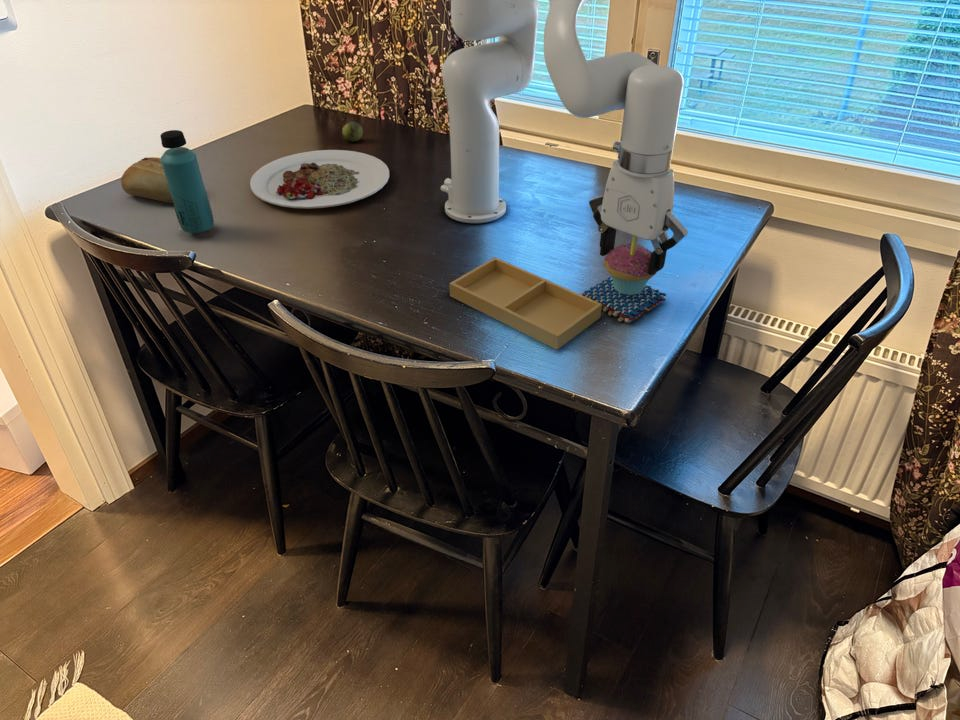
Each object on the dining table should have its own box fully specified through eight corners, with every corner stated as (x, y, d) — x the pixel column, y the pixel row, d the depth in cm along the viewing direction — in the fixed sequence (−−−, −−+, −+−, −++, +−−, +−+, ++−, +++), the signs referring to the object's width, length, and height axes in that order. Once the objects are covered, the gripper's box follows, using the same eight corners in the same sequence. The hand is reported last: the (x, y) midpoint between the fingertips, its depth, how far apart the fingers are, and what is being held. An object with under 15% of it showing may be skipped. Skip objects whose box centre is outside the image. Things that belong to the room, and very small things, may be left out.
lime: (340, 142, 177) (338, 122, 174) (355, 136, 180) (353, 117, 177) (352, 146, 175) (350, 126, 171) (367, 141, 177) (365, 121, 174)
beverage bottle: (223, 227, 142) (198, 128, 129) (203, 243, 137) (174, 141, 124) (195, 222, 143) (168, 124, 131) (174, 238, 138) (144, 136, 126)
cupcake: (653, 304, 114) (665, 236, 106) (599, 298, 115) (607, 231, 108) (654, 276, 120) (665, 210, 113) (603, 271, 122) (610, 206, 114)
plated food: (405, 161, 167) (404, 147, 165) (367, 220, 144) (365, 204, 142) (283, 153, 171) (281, 140, 169) (227, 209, 148) (223, 194, 146)
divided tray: (449, 296, 121) (449, 283, 120) (495, 269, 128) (495, 256, 127) (556, 350, 109) (558, 336, 108) (600, 317, 116) (602, 304, 115)
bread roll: (143, 184, 158) (131, 149, 153) (203, 191, 155) (193, 155, 150) (115, 202, 151) (102, 166, 146) (177, 210, 148) (166, 173, 143)
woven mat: (616, 278, 126) (618, 268, 124) (667, 302, 119) (669, 292, 118) (577, 301, 120) (578, 290, 119) (628, 327, 114) (630, 317, 113)
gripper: (580, 150, 106) (572, 253, 117) (685, 182, 97) (665, 290, 108) (609, 136, 111) (598, 236, 121) (712, 165, 102) (690, 271, 112)
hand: (630, 261), depth 115 cm, fingers closed on cupcake, 8 cm apart
